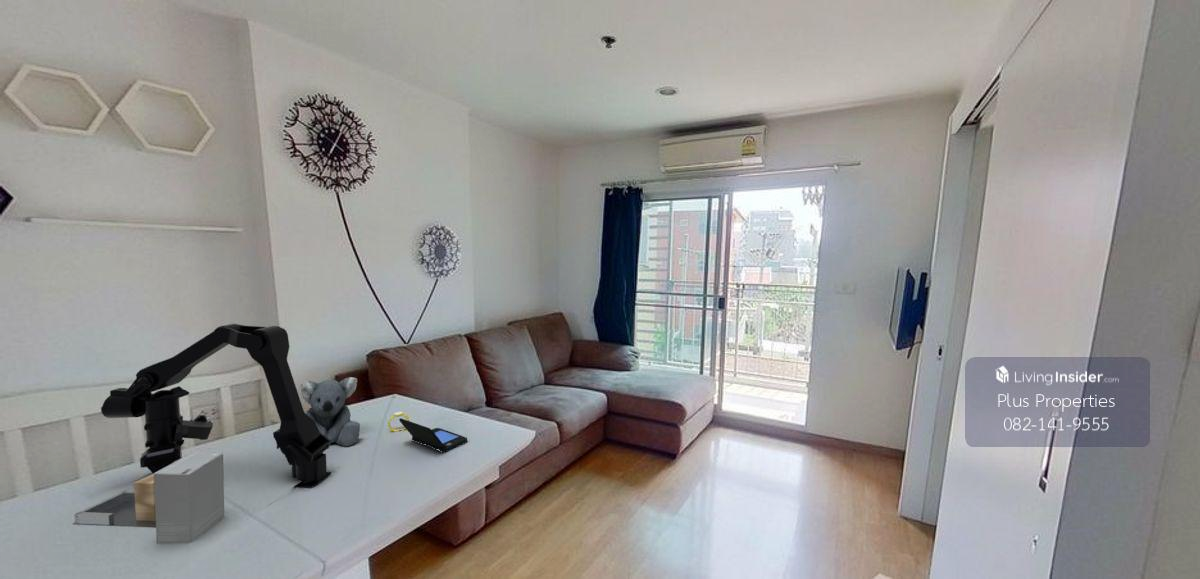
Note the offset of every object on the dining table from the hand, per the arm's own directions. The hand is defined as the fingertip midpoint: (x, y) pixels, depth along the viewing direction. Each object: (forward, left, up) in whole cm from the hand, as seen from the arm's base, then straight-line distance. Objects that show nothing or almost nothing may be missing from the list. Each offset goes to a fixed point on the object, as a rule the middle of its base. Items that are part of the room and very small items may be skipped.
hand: (166, 478), depth 99 cm
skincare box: (-24, +17, -2) cm, 30 cm away
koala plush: (-20, -28, -2) cm, 34 cm away
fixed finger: (-12, +12, 0) cm, 17 cm away
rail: (-8, +12, -2) cm, 15 cm away
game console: (-54, -27, -2) cm, 60 cm away
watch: (-38, -36, -2) cm, 52 cm away
